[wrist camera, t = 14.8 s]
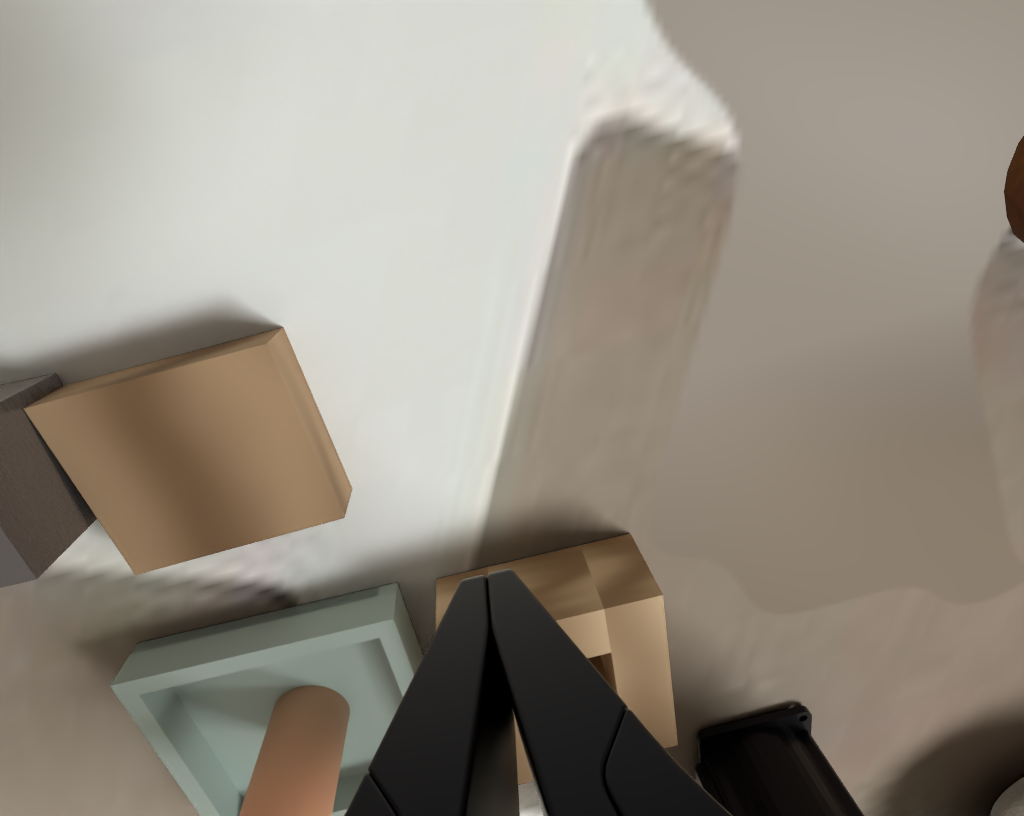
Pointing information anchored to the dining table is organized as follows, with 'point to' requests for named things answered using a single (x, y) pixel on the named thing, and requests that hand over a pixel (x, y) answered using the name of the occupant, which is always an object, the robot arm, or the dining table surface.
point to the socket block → (600, 623)
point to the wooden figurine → (1016, 192)
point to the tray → (268, 689)
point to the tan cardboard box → (198, 451)
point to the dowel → (299, 755)
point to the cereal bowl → (1010, 801)
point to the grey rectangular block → (33, 489)
